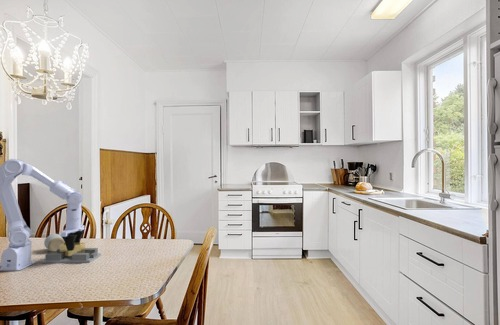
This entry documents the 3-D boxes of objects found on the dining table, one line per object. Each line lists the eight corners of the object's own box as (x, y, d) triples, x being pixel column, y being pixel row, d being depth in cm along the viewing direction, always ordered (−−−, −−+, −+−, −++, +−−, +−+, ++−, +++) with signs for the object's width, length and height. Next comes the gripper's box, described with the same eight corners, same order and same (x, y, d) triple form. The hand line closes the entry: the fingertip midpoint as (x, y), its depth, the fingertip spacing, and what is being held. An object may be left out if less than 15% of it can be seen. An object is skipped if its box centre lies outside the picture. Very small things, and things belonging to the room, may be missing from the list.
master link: (80, 256, 122) (81, 243, 122) (59, 256, 121) (59, 243, 122) (84, 253, 125) (85, 241, 126) (64, 253, 125) (64, 241, 125)
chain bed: (89, 262, 119) (89, 254, 119) (41, 262, 118) (41, 254, 118) (100, 255, 129) (101, 248, 129) (56, 255, 128) (56, 248, 128)
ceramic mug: (47, 254, 130) (48, 237, 130) (43, 250, 135) (44, 234, 136) (73, 250, 137) (74, 234, 138) (68, 246, 143) (69, 231, 143)
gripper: (73, 221, 117) (72, 254, 116) (91, 216, 131) (90, 244, 131) (56, 221, 116) (55, 254, 116) (76, 215, 131) (75, 244, 130)
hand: (72, 249), depth 123 cm, fingers closed on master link, 3 cm apart
